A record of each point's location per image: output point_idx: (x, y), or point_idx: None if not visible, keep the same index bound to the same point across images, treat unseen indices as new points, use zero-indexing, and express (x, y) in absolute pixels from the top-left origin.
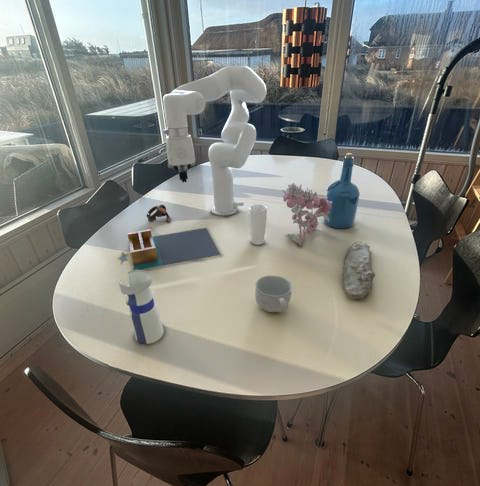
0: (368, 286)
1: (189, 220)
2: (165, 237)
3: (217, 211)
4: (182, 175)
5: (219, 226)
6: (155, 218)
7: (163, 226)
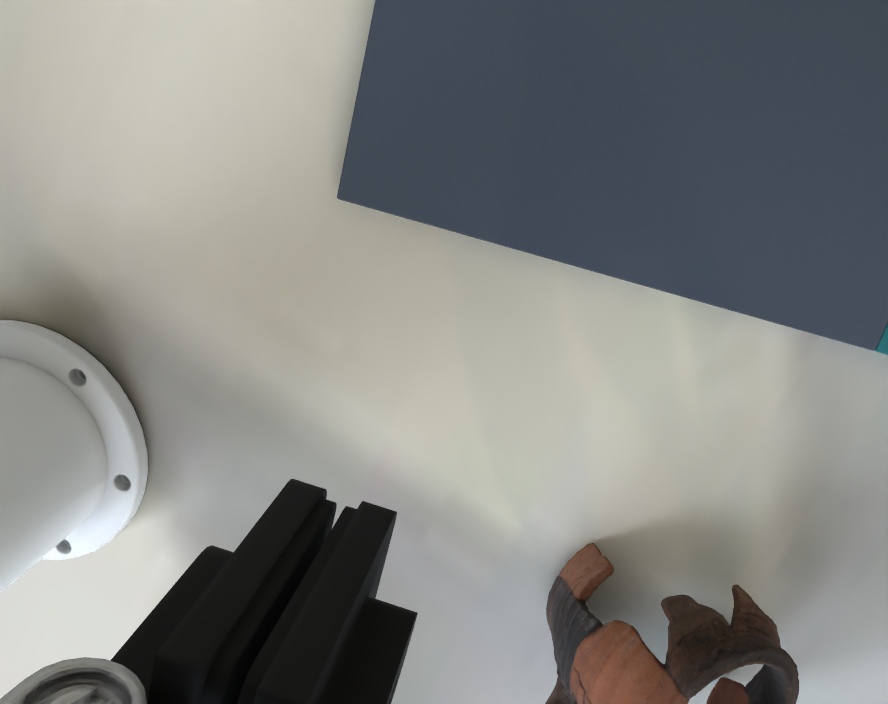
0: None
1: (400, 468)
2: (801, 259)
3: (98, 432)
4: (318, 623)
5: (200, 168)
6: (742, 609)
7: (674, 513)
